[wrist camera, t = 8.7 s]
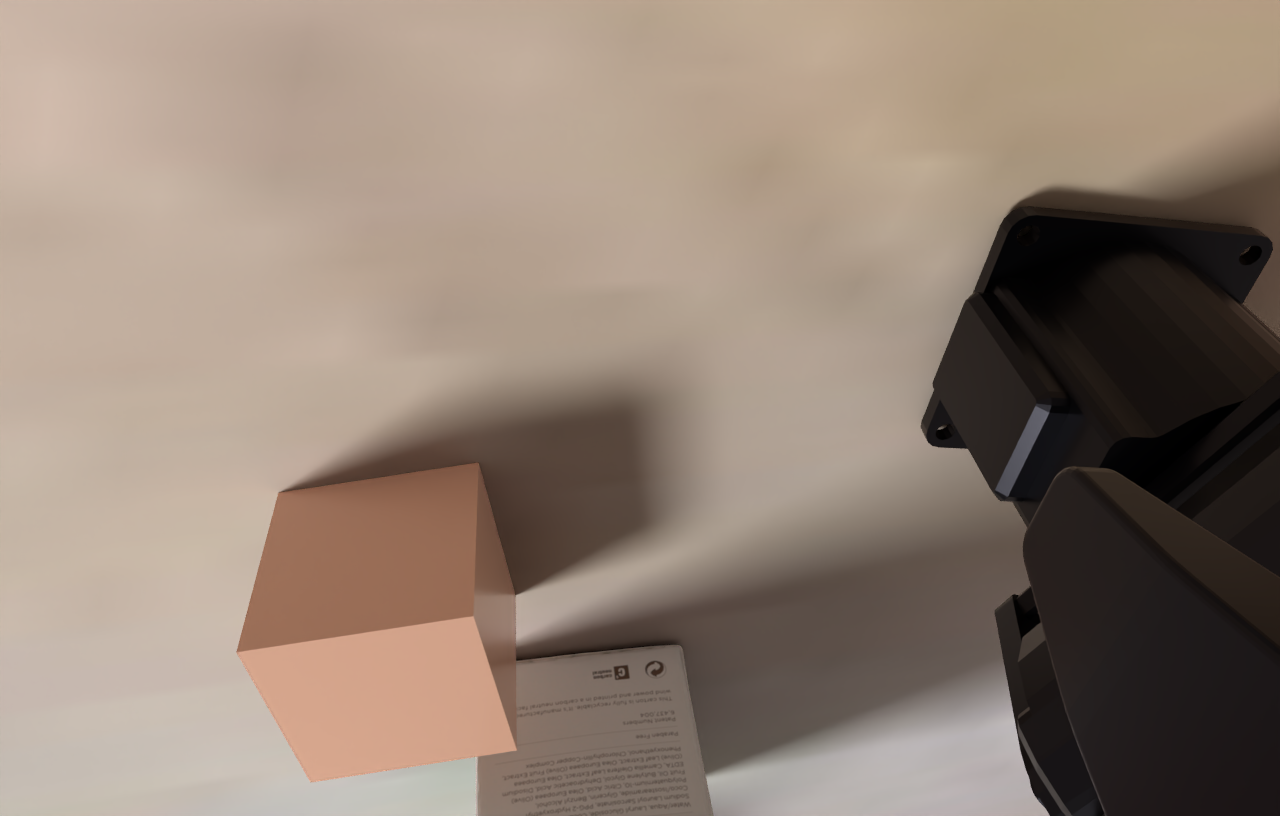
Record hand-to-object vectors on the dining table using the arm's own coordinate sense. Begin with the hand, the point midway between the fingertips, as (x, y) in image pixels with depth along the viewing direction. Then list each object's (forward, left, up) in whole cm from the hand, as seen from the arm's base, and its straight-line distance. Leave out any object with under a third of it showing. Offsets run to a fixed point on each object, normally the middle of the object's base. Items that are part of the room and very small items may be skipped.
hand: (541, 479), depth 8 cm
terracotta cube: (+2, +14, -13) cm, 19 cm away
